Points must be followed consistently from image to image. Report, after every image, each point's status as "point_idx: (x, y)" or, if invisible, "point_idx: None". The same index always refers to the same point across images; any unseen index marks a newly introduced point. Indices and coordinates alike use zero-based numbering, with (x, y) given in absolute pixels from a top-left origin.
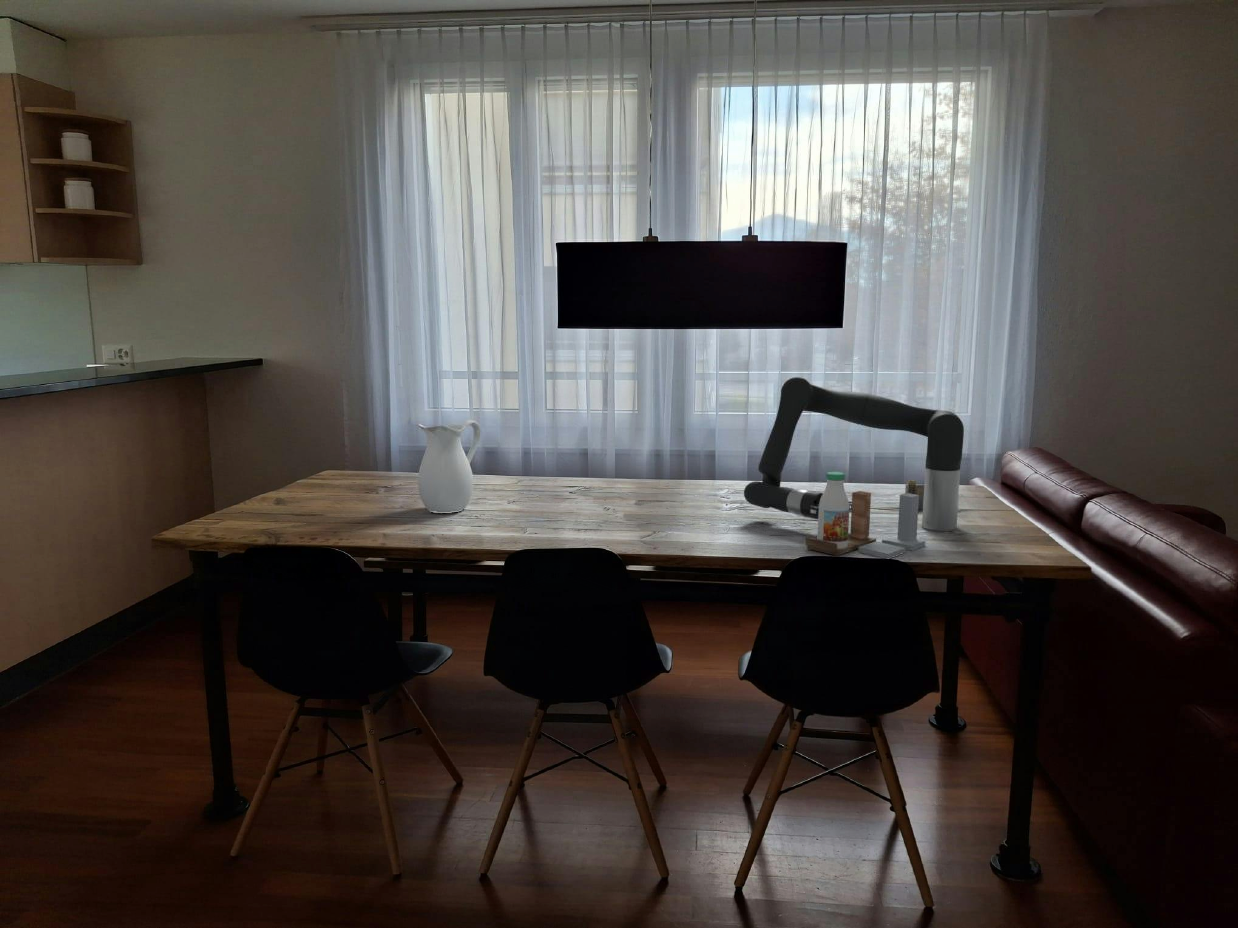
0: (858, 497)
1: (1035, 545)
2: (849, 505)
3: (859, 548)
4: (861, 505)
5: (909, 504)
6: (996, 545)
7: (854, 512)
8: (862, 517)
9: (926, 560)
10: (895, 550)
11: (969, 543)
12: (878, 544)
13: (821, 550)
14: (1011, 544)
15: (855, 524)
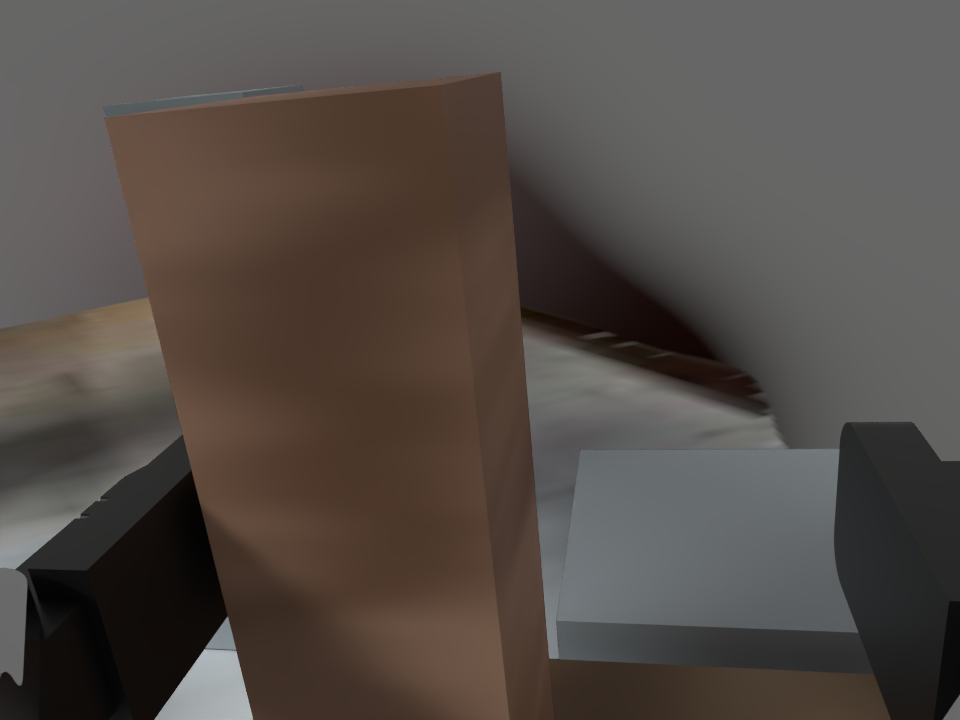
0: (488, 165)
1: (90, 329)
2: (34, 686)
3: None
4: (513, 302)
5: None
6: (136, 366)
7: (503, 523)
8: (534, 487)
9: (648, 398)
10: (708, 456)
11: (130, 410)
12: (650, 568)
13: None
14: (96, 354)
15: (527, 697)
